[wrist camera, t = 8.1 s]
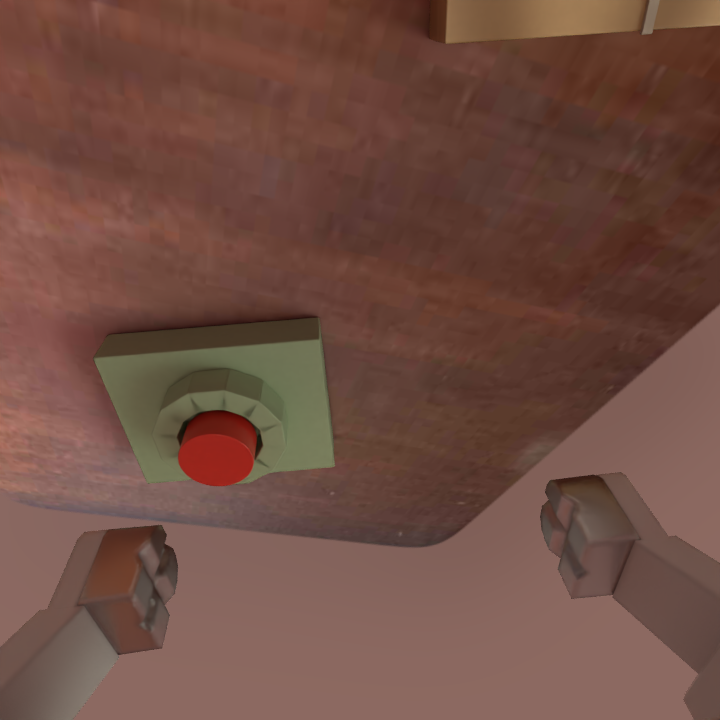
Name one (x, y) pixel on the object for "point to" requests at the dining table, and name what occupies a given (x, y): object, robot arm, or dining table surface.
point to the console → (562, 18)
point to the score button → (218, 448)
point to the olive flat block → (222, 391)
